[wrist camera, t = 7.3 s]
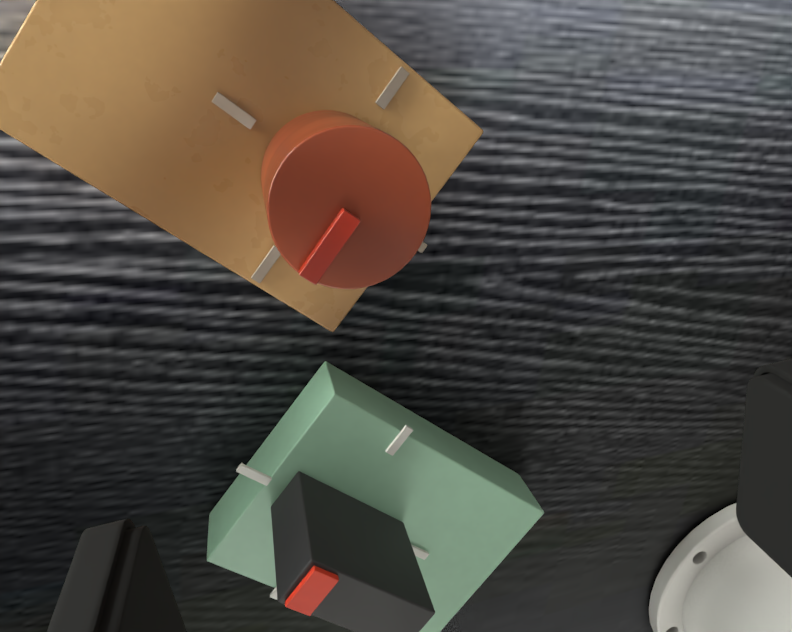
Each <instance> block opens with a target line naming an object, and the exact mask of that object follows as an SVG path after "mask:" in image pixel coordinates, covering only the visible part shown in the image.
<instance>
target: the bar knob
mask: <svg viewBox="0 0 792 632" xmlns="http://www.w3.org/2000/svg"><path fill="white" fill-rule="evenodd" d="M271 518H272V532H273V545H274V559H275V572H276V586H277V599H278V602H279V603H282V604H285V607H287V608H290V609H292V610H295V611H298V612H300V613H303V614H305V615H308V616H310V615H313V616H315V617H318V618H321V619H323V620H326V621H328V622H331V623H334V624H336V625H339V626H341V627H344V628H346V629H349V630H352V631H354V632H419V631H420V630H421V629H422V628H423V627H424V626H425V625H426V623H427V622H428V621H429V620H430V619H431V618H432V616H433V615H434V614H435V610H434V607H433V604H432V601H431V599H430V596H429V593H428V590H427V587H426V584H425V582H424V579H423V576H422V573H421V570H420V568H419V565H418V562H417V559H416V556H415V554H414V551H413V548H412V545H411V542H410V539H409V537H408V534H407V531H406V528H405V525H404V523H403V522H402V521H400V520H398V519H396V518H394V517H392V516H390V515H387V514H385V513H383V512H381V511H379V510H377V509H375V508H373V507H371V506H369V505H367V504H365V503H363V502H361V501H359V500H357V499H355V498H353V497H351V496H349V495H347V494H345V493H343V492H341V491H339V490H337V489H335V488H333V487H331V486H329V485H326V484H324V483H322V482H320V481H318V480H316V479H314V478H312V477H310V476H308V475H306V474H304V473H302V472H300V471H298V472H297V473H296V475H295V476H294V477H293V479H292V480H291V481H290V482H289V484H288V485H287V486H286V488H285V489H284V490H283V491H282V493H281V494H280V495H279V497H278V498H277V499H276V501H275V502H274V503H273V504H272V506H271Z"/></svg>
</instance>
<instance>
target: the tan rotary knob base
mask: <svg viewBox="0 0 792 632" xmlns="http://www.w3.org/2000/svg"><path fill="white" fill-rule="evenodd" d="M319 110H334V111H340V112H344V113H347V114H350V115H352V116H354V117H356V118H359V119H360V120H362V121H364V122H366V123H368V124H370V125H372V126H374V127H376V128H378V129H380V130H382V131H384V132H386V133H387V134H389V135H391V136H393V137H394V138H396V139H397V140H399V141H400V142H401V143H402V144H404V145H405V146H406V147H407V148H408V149H409V150H410V151H411V152H412V154H413V155H414V156H415V157H416V159H417V160H418V162H419V163H420V165H421V167H422V169H423V171H424V173H425V175H426V178H427V181H428V184H429V189H430V194H431V202H432V200H433V199H434V198H435V196H436V195H437V194H438V192H439V191H440V190H441V188H442V187H443V186H444V184H445V183H446V182H447V180H448V179H449V178H450V176H451V175H452V174H453V172H454V171H455V170H456V168H457V167H458V166H459V164H460V163H461V162H462V160H463V159H464V158H465V156H466V155H467V154H468V152H469V151H470V150H471V148H472V147H473V146H474V144H475V143H476V142H477V140H478V139H479V138H480V136H481V135H482V134H483V130H482V129H481V128H480V127H479V126H478V125H477V124H476V123H474V122H473V121H472V120H471V119H470V118H469V117H467V116H466V115H465V114H464V113H463V112H462V111H461V110H459V109H458V108H457V107H456V106H455V105H454V104H452V103H451V102H450V101H449V100H448V99H447V98H446V97H444V96H443V95H442V94H441V93H440V92H439V91H437V90H436V89H435V88H434V87H433V86H432V85H431V84H429V83H428V82H427V81H426V80H425V79H424V78H422V77H421V76H420V75H419V74H418V73H417V72H416V71H414V70H413V69H412V68H411V67H410V66H409V65H407V64H406V63H405V62H404V61H403V60H402V59H401V58H399V57H398V56H397V55H396V54H395V53H394V52H392V51H391V50H390V49H389V48H388V47H387V46H386V45H384V44H383V43H382V42H381V41H380V40H379V39H378V38H376V37H375V36H374V35H373V34H372V33H371V32H369V31H368V30H367V29H366V28H365V27H364V26H363V25H361V24H360V23H359V22H358V21H357V20H356V19H354V18H353V17H352V16H351V15H350V14H349V13H348V12H346V11H345V10H344V9H343V8H342V7H341V6H339V5H338V4H337V3H336V2H335V1H334V0H36V2H35V4H34V5H33V7H32V9H31V10H30V12H29V14H28V16H27V17H26V19H25V21H24V22H23V24H22V26H21V28H20V29H19V31H18V33H17V34H16V36H15V38H14V40H13V41H12V43H11V45H10V46H9V48H8V50H7V52H6V53H5V55H4V57H3V58H2V60H1V62H0V130H2V131H4V132H5V133H7V134H8V135H10V136H12V137H13V138H15V139H17V140H18V141H20V142H22V143H23V144H25V145H26V146H28V147H30V148H31V149H33V150H35V151H36V152H38V153H40V154H41V155H43V156H44V157H46V158H48V159H49V160H51V161H53V162H54V163H56V164H58V165H59V166H61V167H62V168H64V169H66V170H67V171H69V172H71V173H72V174H74V175H76V176H77V177H79V178H80V179H82V180H84V181H85V182H87V183H89V184H90V185H92V186H94V187H95V188H97V189H98V190H100V191H102V192H103V193H105V194H107V195H108V196H110V197H112V198H113V199H115V200H116V201H118V202H120V203H121V204H123V205H125V206H126V207H128V208H130V209H131V210H133V211H134V212H136V213H138V214H139V215H141V216H143V217H144V218H146V219H148V220H149V221H151V222H152V223H154V224H156V225H157V226H159V227H161V228H162V229H164V230H166V231H167V232H169V233H170V234H172V235H174V236H175V237H177V238H179V239H180V240H182V241H184V242H185V243H187V244H188V245H190V246H192V247H193V248H195V249H197V250H198V251H200V252H202V253H203V254H205V255H206V256H208V257H210V258H211V259H213V260H215V261H216V262H218V263H220V264H221V265H223V266H224V267H226V268H228V269H229V270H231V271H233V272H234V273H236V274H238V275H239V276H241V277H242V278H244V279H246V280H247V281H249V282H251V283H252V284H254V285H256V286H257V287H259V288H260V289H262V290H264V291H265V292H267V293H269V294H270V295H272V296H274V297H275V298H277V299H278V300H280V301H282V302H283V303H285V304H287V305H288V306H290V307H292V308H293V309H295V310H296V311H298V312H300V313H301V314H303V315H305V316H306V317H308V318H310V319H311V320H313V321H314V322H316V323H318V324H319V325H321V326H323V327H324V328H326V329H328V330H329V331H331V332H334V331H335V329H336V328H337V327H338V325H339V324H340V323H341V321H342V320H343V319H344V317H345V316H346V315H347V313H348V312H349V311H350V309H351V308H352V307H353V305H354V304H355V303H356V301H357V300H358V299H359V297H360V296H361V295H362V293H363V292H364V291H365V289H366V288H367V287H364V288H358V289H336V288H331V287H326V286H323V285H320V284H317V285H314V284H313V283H311V282H309V281H308V280H306V279H305V278H303V277H301V276H300V275H299V273H298V272H296V271H295V270H294V269H293V268H292V267H291V266H290V265H289V264H288V263H287V262H286V260H285V259H284V258H283V257H282V255H281V254H280V252H279V251H278V249H277V247H276V245H275V243H274V241H273V239H272V236H271V233H270V229H269V225H268V220H267V214H266V209H265V203H264V198H263V192H262V186H261V166H262V161H263V157H264V154H265V152H266V149H267V147H268V145H269V143H270V141H271V140H272V138H273V137H274V136H275V134H276V133H277V132H278V131H279V130H280V129H281V128H282V127H283V126H284V125H285V124H287V123H288V122H289V121H291V120H293V119H294V118H296V117H298V116H300V115H303V114H305V113H309V112H313V111H319ZM426 247H427V244H425V243H424V242H422V244H421V246H420V248H419V249H418V251H419V252H420V253H422V252H423V251H424V249H425V248H426Z"/></svg>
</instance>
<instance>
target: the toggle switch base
mask: <svg viewBox="0 0 792 632" xmlns="http://www.w3.org/2000/svg"><path fill="white" fill-rule="evenodd" d="M298 471H300V472H302V473H304V474H306V475H308V476H310V477H312V478H314V479H316V480H318V481H320V482H322V483H324V484H326V485H329V486H331V487H333V488H335V489H337V490H339V491H341V492H343V493H345V494H347V495H349V496H351V497H353V498H355V499H357V500H359V501H361V502H363V503H365V504H367V505H369V506H371V507H373V508H375V509H377V510H379V511H381V512H383V513H385V514H387V515H390V516H392V517H394V518H396V519H398V520H400V521H402V522H403V523H404V525H405V528H406V531H407V534H408V537H409V539H410V542H411V545H412V548H413V551H414V554H415V556H416V559H417V562H418V565H419V568H420V570H421V573H422V576H423V579H424V582H425V584H426V587H427V590H428V593H429V596H430V599H431V601H432V604H433V607H434V610H435V614H434V615H433V616H432V618H431V619H430V620H429V621H428V622H427V623H426V625H425V626H424V627H423V628H422V629H421V630H420V631H419V632H440V631H441V630H442V629H443V628H444V627H445V625H446V624H447V623H448V622H449V621H450V620H451V619H452V617H453V616H454V615H455V614H456V613H457V612H458V611H459V609H460V608H461V607H462V606H463V605H464V604H465V603H466V601H467V600H468V599H469V598H470V597H471V596H472V595H473V593H474V592H475V591H476V590H477V589H478V588H479V587H480V586H481V584H482V583H483V582H484V581H485V580H486V579H487V578H488V576H489V575H490V574H491V573H492V572H493V571H494V570H495V568H496V567H497V566H498V565H499V564H500V563H501V562H502V560H503V559H504V558H505V557H506V556H507V555H508V554H509V552H510V551H511V550H512V549H513V548H514V547H515V546H516V544H517V543H518V542H519V541H520V540H521V539H522V538H523V536H524V535H525V534H526V533H527V532H528V531H529V530H530V528H531V527H532V526H533V525H534V524H535V523H536V522H537V521H538V519H539V518H540V517H541V516H542V515H543V514H544V511H543V510H542V508H541V507H540V505H539V504H538V502H537V501H536V499H535V498H534V496H533V495H532V493H531V492H530V490H529V489H528V487H527V486H526V484H525V483H524V481H523V480H522V478H521V477H520V475H519V474H517V473H516V472H514V471H512V470H511V469H509V468H507V467H505V466H504V465H502V464H500V463H499V462H497V461H495V460H493V459H492V458H490V457H488V456H487V455H485V454H483V453H482V452H480V451H478V450H476V449H475V448H473V447H471V446H470V445H468V444H466V443H464V442H463V441H461V440H459V439H458V438H456V437H454V436H453V435H451V434H449V433H447V432H446V431H444V430H442V429H441V428H439V427H437V426H435V425H434V424H432V423H430V422H429V421H427V420H425V419H424V418H422V417H420V416H418V415H417V414H415V413H413V412H412V411H410V410H408V409H406V408H405V407H403V406H401V405H400V404H398V403H396V402H395V401H393V400H391V399H389V398H388V397H386V396H384V395H383V394H381V393H379V392H377V391H376V390H374V389H372V388H371V387H369V386H367V385H366V384H364V383H362V382H360V381H359V380H357V379H355V378H354V377H352V376H350V375H348V374H347V373H345V372H343V371H342V370H340V369H338V368H337V367H335V366H333V365H331V364H330V363H328V362H326V361H325V362H324V363H323V364H322V365H321V367H320V368H319V369H318V371H317V372H316V373H315V375H314V376H313V377H312V379H311V380H310V381H309V383H308V384H307V385H306V387H305V388H304V389H303V391H302V392H301V393H300V395H299V396H298V397H297V399H296V400H295V401H294V402H293V404H292V405H291V406H290V408H289V409H288V410H287V412H286V413H285V414H284V416H283V417H282V418H281V420H280V421H279V422H278V424H277V425H276V426H275V428H274V429H273V430H272V432H271V433H270V434H269V436H268V437H267V438H266V440H265V441H264V442H263V444H262V445H261V446H260V448H259V449H258V450H257V451H256V453H255V454H254V455H253V457H252V458H251V459H250V461H249V462H248V463H247V465H245V464H243V463H241V464H240V465H239V466H238V468H237V469H236V472H238V473H240V474H239V475H238V477H237V478H236V479H235V481H234V482H233V483H232V485H231V486H230V487H229V489H228V490H227V491H226V493H225V494H224V495H223V496H222V498H221V499H220V500H219V502H218V503H217V504H216V506H215V507H214V508H213V510H212V511H211V512H210V514H209V528H208V544H207V561H208V562H211V563H213V564H216V565H218V566H221V567H223V568H226V569H228V570H231V571H233V572H236V573H238V574H241V575H243V576H246V577H249V578H251V579H254V580H256V581H259V582H261V583H264V584H266V585H269V586H271V587H274V588H275V589H274V590H273V591H272V592H271V594H270V597H271V598H274V599H276V600H277V586H276V572H275V559H274V545H273V532H272V518H271V506H272V504H273V503H274V502H275V501H276V499H277V498H278V497H279V495H280V494H281V493H282V491H283V490H284V489H285V488H286V486H287V485H288V484H289V482H290V481H291V480H292V479H293V477H294V476H295V475H296V473H297V472H298Z"/></svg>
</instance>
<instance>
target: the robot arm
mask: <svg viewBox="0 0 792 632" xmlns="http://www.w3.org/2000/svg"><path fill="white" fill-rule="evenodd" d="M649 619H650V625H651V627H652V630H653V632H792V359H788V360H784V361H780V362H776V363H772V364H768V365H763V366H761V367H759V368H758V369H757V370H756V372H755V373H754V377H753V378H752V379H750V381H749V382H748V385H747V393H746V404H745V415H744V426H743V437H742V448H741V459H740V470H739V481H738V493H737V503H734V504H732V505H730V506H727V507H725V508H724V509H722V510H720V511H719V512H717V513H715V514H714V515H712V516H710V517H709V518H707V519H706V520H705V521H703V522H702V523H701V524H700V525H698V526H697V527H696V528H694V529H693V530H692V531H691V532H690V533H689V534H688V535H687V536H686V537H685V538H684V539H683V540H682V541H681V542H680V543H679V544H678V545H677V546H676V548H675V549H674V550H673V552H672V553H671V554H670V556H669V557H668V558H667V559H666V561H665V563H664V564H663V566H662V568H661V570H660V572H659V574H658V575H657V577H656V580H655V583H654V586H653V589H652V592H651V595H650V602H649ZM47 632H187V631H186V628H185V626H184V623H183V620H182V617H181V615H180V612H179V609H178V606H177V604H176V601H175V598H174V595H173V593H172V590H171V587H170V584H169V581H168V579H167V576H166V573H165V570H164V568H163V565H162V562H161V559H160V557H159V554H158V551H157V548H156V545H155V543H154V540H153V537H152V534H151V532H150V530H149V528H148V527H147V526H141V527H137V528H136V527H135V525H134V523H133V522H132V521H131V520H130V519H125V520H120V521H116V522H112V523H108V524H104V525H100V526H96V527H91V528H87V529H86V530H84V532H83V534H82V535H81V538H80V541H79V544H78V546H77V549H76V552H75V555H74V557H73V560H72V563H71V566H70V569H69V571H68V574H67V577H66V580H65V582H64V585H63V588H62V591H61V594H60V596H59V599H58V602H57V605H56V607H55V610H54V613H53V616H52V619H51V621H50V624H49V627H48V630H47Z"/></svg>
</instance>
